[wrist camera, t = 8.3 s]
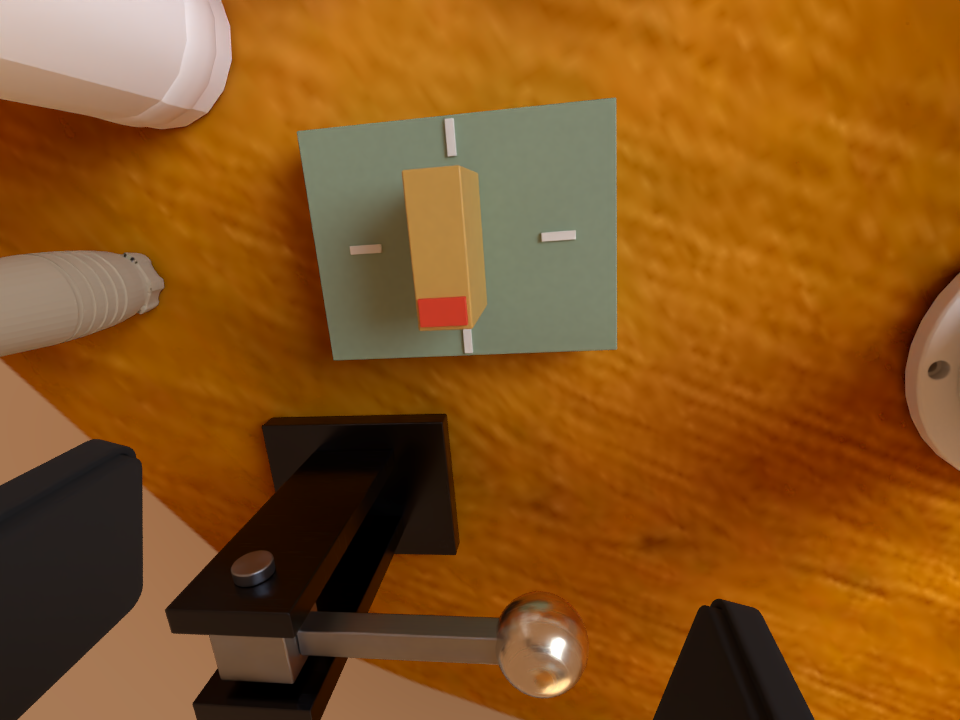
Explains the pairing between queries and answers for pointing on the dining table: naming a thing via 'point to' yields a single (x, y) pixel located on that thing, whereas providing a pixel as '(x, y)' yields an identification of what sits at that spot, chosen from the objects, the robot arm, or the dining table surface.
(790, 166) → the dining table surface
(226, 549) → the handle bracket
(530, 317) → the plate
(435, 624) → the ball knob lever
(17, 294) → the handle
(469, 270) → the lock knob
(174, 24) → the bottle
